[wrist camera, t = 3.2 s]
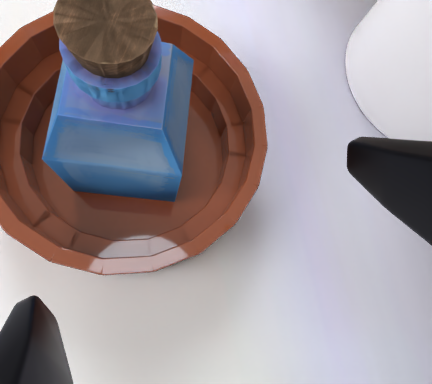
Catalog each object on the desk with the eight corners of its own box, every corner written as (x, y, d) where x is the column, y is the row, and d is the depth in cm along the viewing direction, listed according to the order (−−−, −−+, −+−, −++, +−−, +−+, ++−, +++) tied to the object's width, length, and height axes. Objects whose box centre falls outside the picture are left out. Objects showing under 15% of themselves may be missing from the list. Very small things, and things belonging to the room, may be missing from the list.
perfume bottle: (90, 100, 22) (22, -81, 11) (183, 113, 23) (211, -40, 12) (74, 191, 21) (-25, 92, 9) (174, 201, 22) (195, 124, 10)
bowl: (285, 129, 25) (312, 100, 21) (163, 324, 21) (165, 337, 16) (106, 9, 25) (96, -47, 20) (-56, 180, 20) (-113, 155, 16)
